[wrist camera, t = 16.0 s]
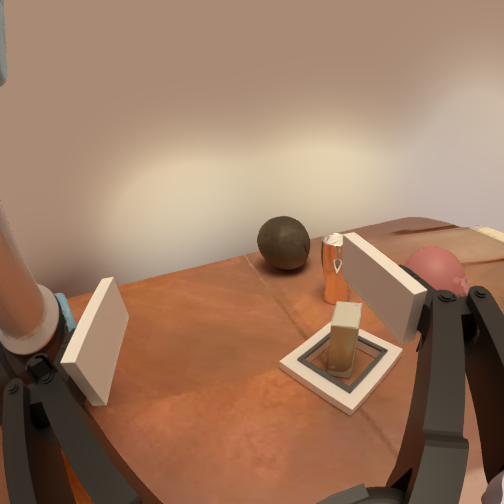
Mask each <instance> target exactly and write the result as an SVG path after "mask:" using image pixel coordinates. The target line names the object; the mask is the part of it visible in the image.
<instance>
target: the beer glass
mask: <svg viewBox="0 0 504 504" xmlns="http://www.w3.org/2000/svg"><path fill="white" fill-rule="evenodd" d="M342 254H343V234H339V233H334V234H328V235H326V236H324V237H323V238H322V249H321V262H322V269H323V274H324V279H325V290H324V295H323V298H324V300H325V301H326V302H327V303H329V304H333V305H336V303H337V301H342V302H346V301H347V300H348V290H347V284H348V282H347V281H346V280H345V279H344V278H343V277H342Z"/></svg>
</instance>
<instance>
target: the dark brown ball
mask: <svg viewBox="0 0 504 504" xmlns="http://www.w3.org/2000/svg"><path fill="white" fill-rule="evenodd" d="M257 242H258V247H259V250H260V252H261V254H262V256H263V257H264V258H265V259H266V260H267V261H268V262H269V263H271V264H272V265H274V266H276V267H278V268H281V269H286V270H292V269H296V268H298V267H300V266H302V265H303V264H304V263H305V261H306V260H307V258H308V254H309V251H310V238H309V235H308V233H307V231H306V229H305V227H304V226H303V225H302V224H301V223H300V222H299V221H298V220H296V219H293V218H291V217H287V216H281V217H276V218H272V219H270V220H268V221H267V222H266V223H265V224H264V225H263V226H262V227H261V229H260V231H259V235H258V238H257Z"/></svg>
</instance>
